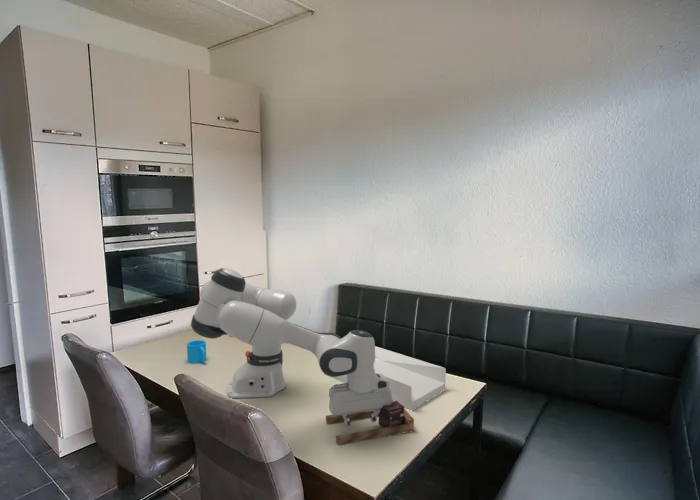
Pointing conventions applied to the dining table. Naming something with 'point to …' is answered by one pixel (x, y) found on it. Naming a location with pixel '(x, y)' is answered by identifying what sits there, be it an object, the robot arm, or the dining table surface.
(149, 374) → the dining table surface
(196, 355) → the mug
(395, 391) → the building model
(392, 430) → the guide channel
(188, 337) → the dining table surface
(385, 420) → the box
